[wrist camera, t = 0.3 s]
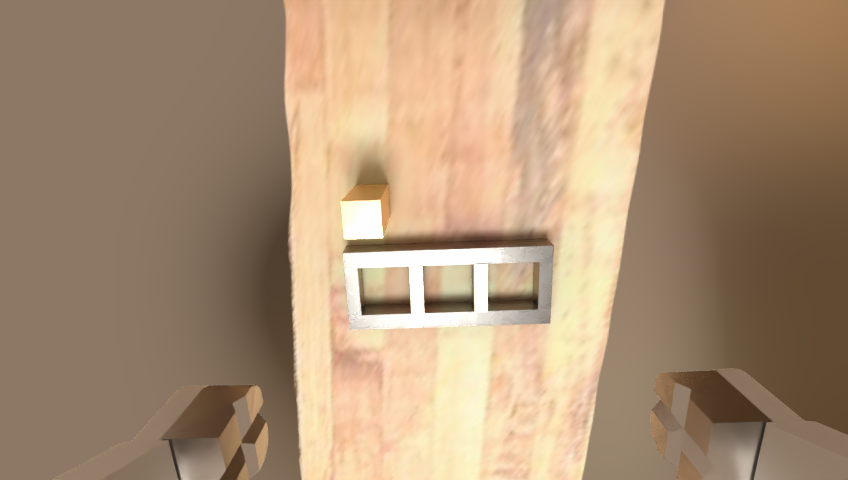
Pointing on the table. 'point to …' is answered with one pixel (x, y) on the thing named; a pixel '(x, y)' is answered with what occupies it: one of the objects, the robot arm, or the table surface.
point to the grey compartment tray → (449, 312)
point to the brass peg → (366, 211)
